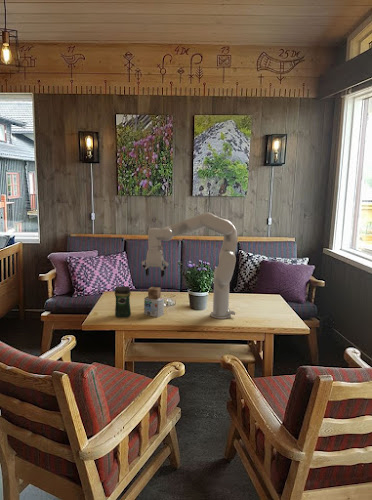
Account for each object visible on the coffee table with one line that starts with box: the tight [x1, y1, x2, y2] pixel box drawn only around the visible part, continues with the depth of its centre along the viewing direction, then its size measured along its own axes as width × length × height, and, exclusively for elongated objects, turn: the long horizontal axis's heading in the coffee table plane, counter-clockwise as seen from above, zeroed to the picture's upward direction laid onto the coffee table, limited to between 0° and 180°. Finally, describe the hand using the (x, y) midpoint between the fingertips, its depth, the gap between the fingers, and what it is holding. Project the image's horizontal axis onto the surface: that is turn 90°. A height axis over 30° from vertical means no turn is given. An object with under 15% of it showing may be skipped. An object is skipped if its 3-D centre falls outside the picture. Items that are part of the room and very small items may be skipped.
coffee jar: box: [114, 285, 132, 319], centre depth 247 cm, size 10×8×19 cm
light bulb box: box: [143, 296, 165, 318], centre depth 252 cm, size 11×7×11 cm, turn 62°
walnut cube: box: [147, 286, 162, 299], centre depth 250 cm, size 6×6×6 cm
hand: (155, 275), depth 249 cm, fingers open, 9 cm apart
